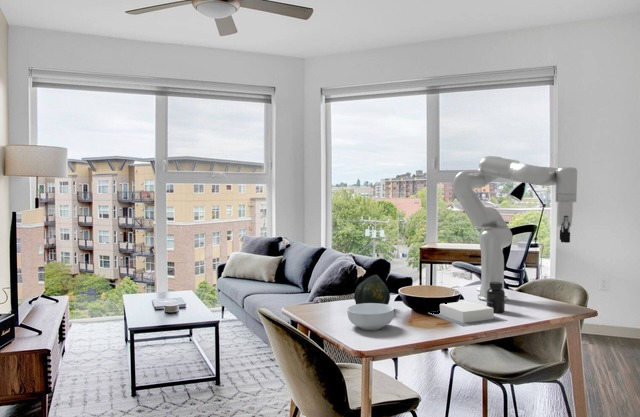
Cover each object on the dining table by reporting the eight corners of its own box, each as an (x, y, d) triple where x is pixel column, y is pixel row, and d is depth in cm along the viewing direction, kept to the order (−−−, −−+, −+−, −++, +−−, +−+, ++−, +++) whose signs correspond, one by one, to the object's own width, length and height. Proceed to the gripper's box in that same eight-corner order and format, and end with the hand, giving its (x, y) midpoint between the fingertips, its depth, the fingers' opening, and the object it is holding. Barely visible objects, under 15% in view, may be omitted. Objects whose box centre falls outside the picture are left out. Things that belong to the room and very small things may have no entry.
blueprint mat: (427, 314, 201) (427, 312, 201) (468, 309, 209) (468, 307, 209) (463, 328, 181) (463, 326, 181) (507, 321, 188) (507, 320, 188)
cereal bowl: (364, 318, 195) (364, 300, 195) (403, 326, 185) (402, 306, 184) (338, 328, 182) (337, 309, 182) (377, 336, 171) (377, 316, 171)
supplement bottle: (485, 313, 201) (485, 283, 201) (488, 309, 207) (488, 280, 207) (503, 315, 198) (503, 284, 197) (506, 311, 204) (506, 281, 203)
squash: (349, 301, 201) (374, 272, 202) (346, 294, 216) (369, 267, 217) (376, 324, 202) (401, 295, 202) (371, 316, 217) (394, 289, 217)
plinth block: (439, 314, 198) (439, 304, 198) (469, 310, 204) (469, 300, 204) (463, 322, 185) (463, 311, 185) (493, 318, 191) (493, 308, 191)
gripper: (554, 197, 213) (553, 238, 213) (556, 198, 197) (555, 243, 198) (574, 197, 210) (573, 239, 211) (578, 199, 194) (576, 244, 195)
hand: (564, 241), depth 204 cm, fingers open, 9 cm apart
